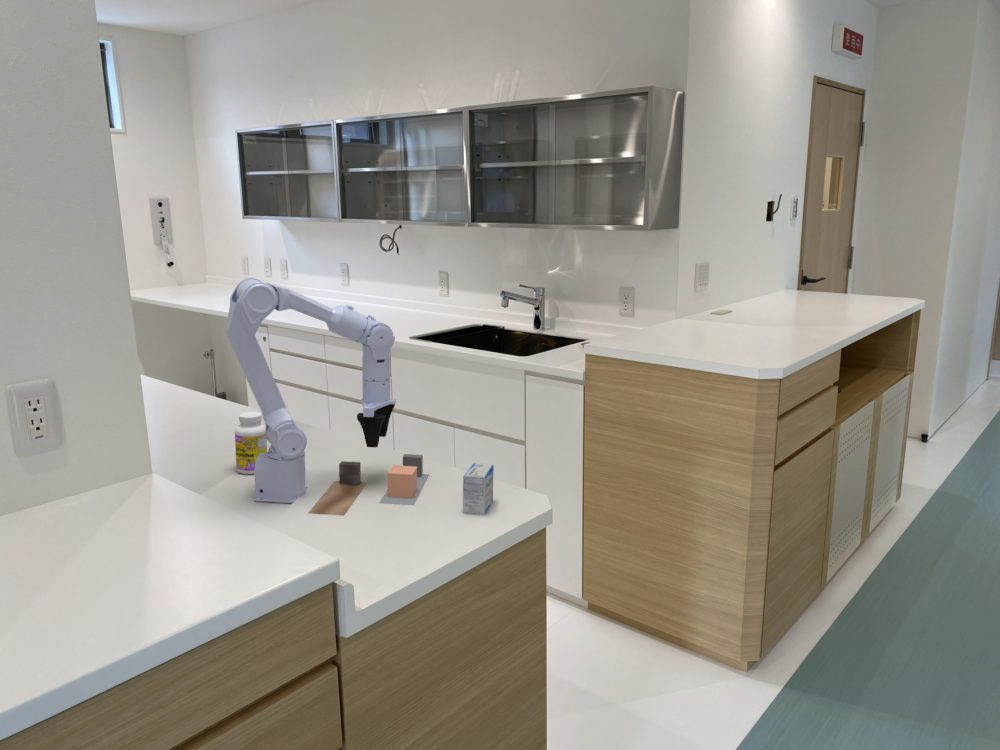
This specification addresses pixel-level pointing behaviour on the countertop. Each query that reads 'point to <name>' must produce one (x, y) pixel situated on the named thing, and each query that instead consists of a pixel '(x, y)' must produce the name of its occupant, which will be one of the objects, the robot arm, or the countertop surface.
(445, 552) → the countertop surface
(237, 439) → the supplement bottle
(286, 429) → the robot arm
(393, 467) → the terracotta block
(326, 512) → the walnut strip
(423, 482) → the slate strip
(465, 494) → the medicine box
